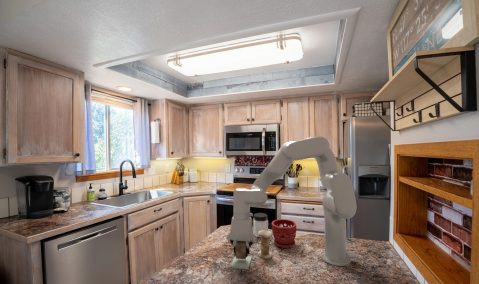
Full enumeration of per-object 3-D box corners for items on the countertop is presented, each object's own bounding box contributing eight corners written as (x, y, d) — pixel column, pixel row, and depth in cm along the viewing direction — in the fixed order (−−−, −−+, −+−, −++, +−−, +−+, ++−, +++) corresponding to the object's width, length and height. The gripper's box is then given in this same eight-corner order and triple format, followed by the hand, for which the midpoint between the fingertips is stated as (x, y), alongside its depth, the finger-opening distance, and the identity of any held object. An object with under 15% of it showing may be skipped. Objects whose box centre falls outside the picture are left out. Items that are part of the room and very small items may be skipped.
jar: (251, 236, 131) (251, 216, 131) (255, 231, 139) (254, 212, 139) (266, 238, 128) (266, 217, 128) (269, 233, 136) (269, 213, 136)
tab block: (247, 254, 103) (247, 237, 103) (245, 259, 99) (245, 241, 99) (237, 253, 104) (237, 236, 104) (235, 258, 100) (235, 240, 100)
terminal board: (251, 258, 105) (251, 256, 105) (248, 269, 96) (248, 267, 96) (235, 256, 107) (235, 254, 107) (230, 267, 97) (230, 265, 97)
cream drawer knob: (272, 252, 111) (272, 230, 111) (271, 259, 104) (271, 236, 104) (258, 251, 112) (258, 229, 112) (257, 258, 105) (257, 234, 106)
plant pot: (273, 238, 128) (273, 217, 128) (296, 241, 124) (296, 219, 125) (270, 248, 115) (270, 225, 116) (296, 251, 112) (296, 228, 112)
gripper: (260, 213, 104) (260, 253, 103) (226, 211, 107) (225, 249, 107) (258, 219, 96) (258, 261, 96) (221, 216, 100) (221, 257, 99)
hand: (241, 254), depth 101 cm, fingers closed on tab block, 4 cm apart
